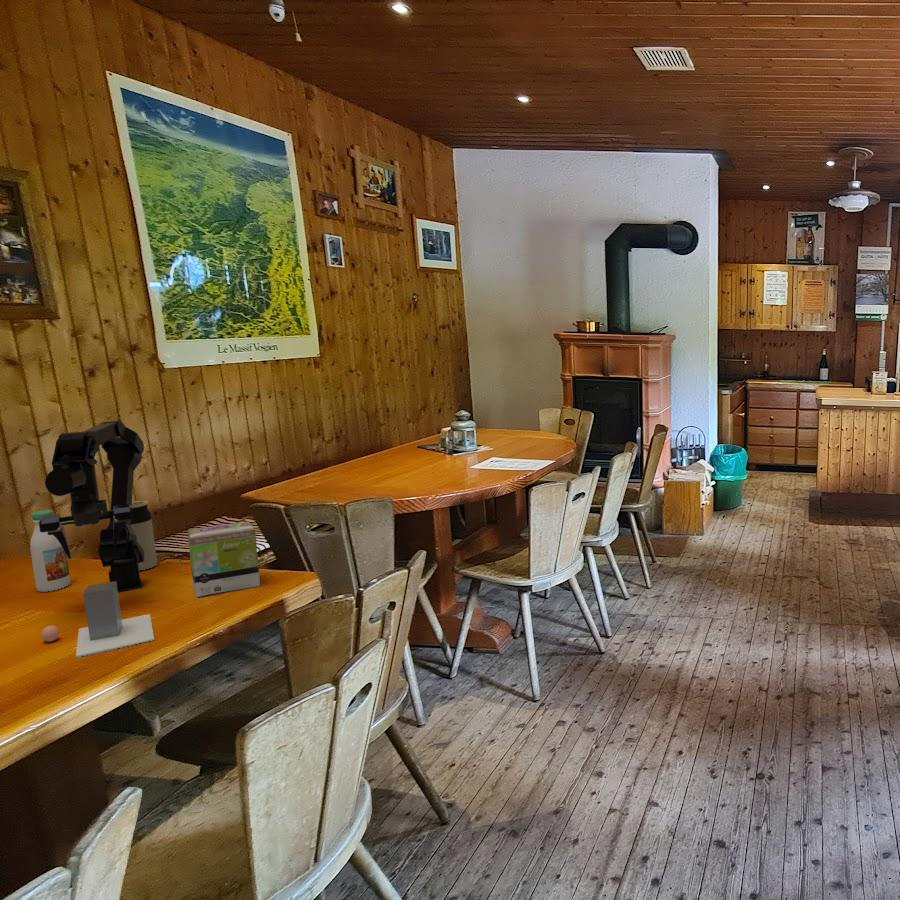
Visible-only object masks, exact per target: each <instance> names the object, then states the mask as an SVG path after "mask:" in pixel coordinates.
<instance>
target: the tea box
mask: <svg viewBox="0 0 900 900" xmlns="http://www.w3.org/2000/svg"><path fill="white" fill-rule="evenodd" d="M187 541H188V548H189V560H190V569H191V577H192V585H193V589H194V591H195V596H196V598H200V597H204V596H207V595H214V594H218V593H219V594H220V593H225V592H232V591H239V590H243V589H245V590H246V589H250V588H259V587H260V586H261V582H260V581H261V580H260V579H261V578H260V567H259V557H258V547H257V537H256V529H255V527H253V525H252V523H251V522H250V520H247V521H241V522H240V521H239V522H233V523H226V524H220V525H218V524H217V525H213V526H212V525H211V526H206V527H205V526H203V527H198V528H191V529H190V528H189V529H187Z"/></svg>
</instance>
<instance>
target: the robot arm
mask: <svg viewBox="0 0 900 900" xmlns="http://www.w3.org/2000/svg"><path fill="white" fill-rule="evenodd" d="M100 446H101V448H102V449H103V451H104V452H105V453H106V459H107V460H108V462H109V464H110V466H111V467H112V481H111V498H110V509H109V510H108V506H107V505H108V504H107V499H100V495H99V487H98V482H97V481H98V479H97V473H96V472H97V471H96V466H95V465H96V464H98V461H97V459H96V454H98V452H99V451H100ZM144 451H145V445H144V442H143V440H142V439H141V437H140V436H139V434H138V433H137V432H136V431H134V430H133V429H130V428H129V427H127V426H125V424H124V422H123V421H119V420H113V421H112V420H111V421H109V420H108V421H103V422H100V423H99V424H98V425H95V426H93V427H90V428H87V429H86V430H83V431H72V432H71V431H70V432H62V433H60V434H59V436H58V438H57V440H56V441H55V446H54V452H53V455H52V459H51V466H52V470H51V471H49V473H48V474H47V475H46V477H45V480H44V485H45V488H46V489H47V491H48V492H49V493H50V494H52V495H53V496H57V497H63V496H66V495H69V497H70V498H69V499H70V514H71V515H66V516H61V513H53V515H46V516H43V517H42V518H41V519H40V521H39V527H40V532H48V535H54V536H55V537H56V538H57V540H58V541H59V542H60V544H61V545H62V547H63V549H64V551H65V553H66V556H67V559H69V560H71V559H72V553H71V548H70V544H69V541H68V537H67V533H66V530H65V527H64V526H66V525H67V526H68V525H74V526H75V527H83V526H85V525H86V526H87V525H96V524H98V523H100V521H102V520H108V519H109V522H108V523H109V524H108V525H107V526H106V528H104V529H101V530H100V531H99V543H98V548H97V550H98V551H97V553H98V555H99V558H100V561H101V564H102V567H103V568H104V567H105V568H106V567H109V568H110V569H109V570H108V579H109V582H114V581H116V583H117V590H118V592H122V591H128V590H133V588H134V589H137V588H138V587H139V588H141V586H142V580H141V575H140V571H139V567H138V563H141V562H144V556H145V555H144V550H143V549H142V547H141V546H140V545H139V543H138V542H137V536H136V534H135V532H134V531H133V529H132V527H131V519H133V518H134V517H133V510H132V502H133V490H134V476H135V475H134V471H135V470H136V469H137V467H138V466H139V465H140V463H141V462H142V456H143V453H144Z"/></svg>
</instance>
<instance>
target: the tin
mask: <svg viewBox="0 0 900 900" xmlns="http://www.w3.org/2000/svg"><path fill="white" fill-rule="evenodd" d="M82 595H83V603H84V608H85V616H86V622H87V627H88V629H89V636H90V641H92V640H98V639H103V638H109V637H115V636H119V635H120V632H121V629H122V627H123V626H122V620H123V619H122V613H121V612H122V611H121V606H120V600H119V599H120V598H119V591H118V590H117V583H116V581H114V582H110V581H109V582H102V583H96V584H89V585H87V586H86V588H85V590H84V591H83V593H82Z"/></svg>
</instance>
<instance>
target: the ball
mask: <svg viewBox="0 0 900 900" xmlns="http://www.w3.org/2000/svg"><path fill="white" fill-rule="evenodd" d="M40 636H41V638H42V640H43V641H46V642H49V643H50V642H53V641H56V640H57V639H58V637H59V636H60V629H59V628H58V627H57V626H55V625H48V626H46V627H44V628H43V629H42V630H41V633H40Z"/></svg>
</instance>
